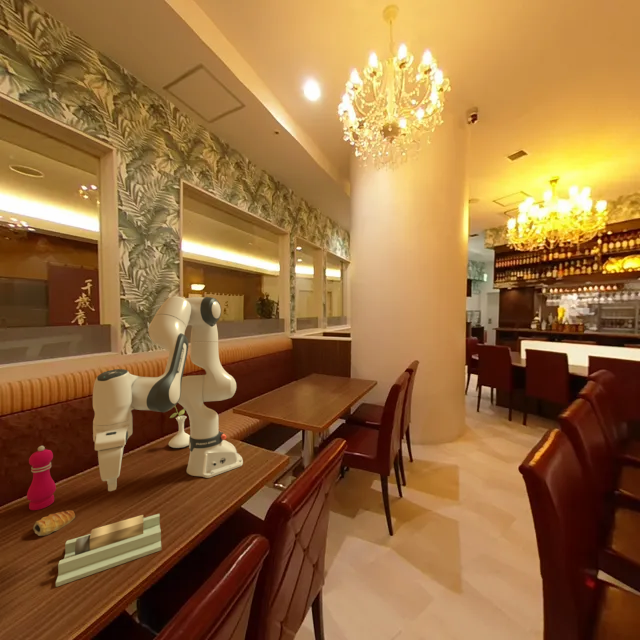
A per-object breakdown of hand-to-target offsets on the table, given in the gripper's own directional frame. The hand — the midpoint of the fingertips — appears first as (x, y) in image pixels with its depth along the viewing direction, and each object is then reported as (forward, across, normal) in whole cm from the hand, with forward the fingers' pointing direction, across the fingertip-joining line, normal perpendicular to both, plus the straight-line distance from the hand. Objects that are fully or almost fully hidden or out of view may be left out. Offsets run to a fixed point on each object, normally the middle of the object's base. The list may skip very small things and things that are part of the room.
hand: (114, 480), depth 82 cm
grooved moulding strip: (+19, 0, 0) cm, 19 cm away
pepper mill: (+19, -36, -23) cm, 47 cm away
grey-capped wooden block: (+18, 0, -1) cm, 18 cm away
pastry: (+19, -20, -17) cm, 33 cm away
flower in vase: (+19, -63, +22) cm, 69 cm away
